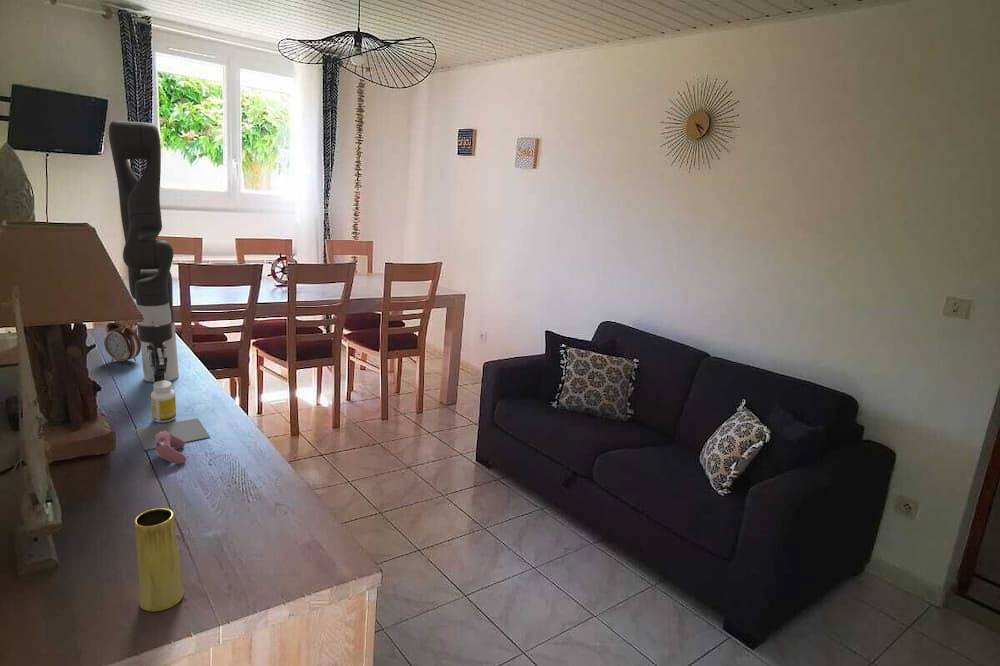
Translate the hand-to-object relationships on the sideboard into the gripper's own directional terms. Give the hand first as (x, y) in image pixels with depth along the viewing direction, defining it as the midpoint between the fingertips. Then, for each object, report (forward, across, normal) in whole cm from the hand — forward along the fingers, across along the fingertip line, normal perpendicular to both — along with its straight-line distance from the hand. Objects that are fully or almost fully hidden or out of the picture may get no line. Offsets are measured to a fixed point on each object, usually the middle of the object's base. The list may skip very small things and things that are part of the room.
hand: (159, 386), depth 160 cm
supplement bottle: (+8, +2, 0) cm, 8 cm away
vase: (+7, +75, -13) cm, 77 cm away
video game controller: (+8, +25, -2) cm, 27 cm away
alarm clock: (+9, -52, -2) cm, 53 cm away
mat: (+8, +13, 0) cm, 15 cm away
